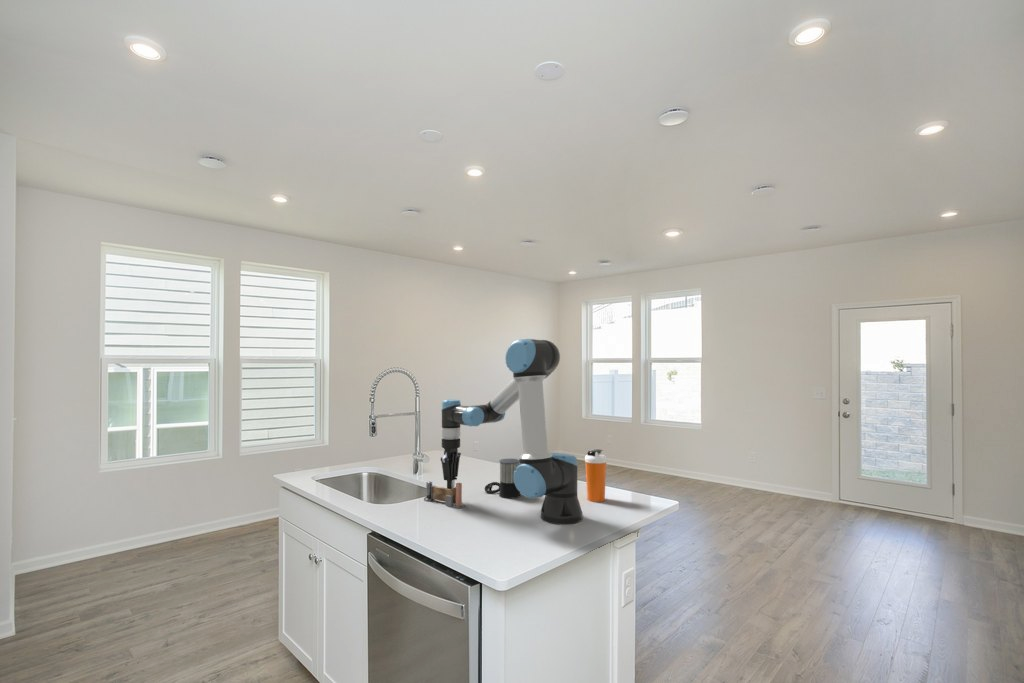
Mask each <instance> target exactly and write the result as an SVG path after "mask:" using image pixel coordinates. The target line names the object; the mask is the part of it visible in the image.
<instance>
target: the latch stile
mask: <svg viewBox="0 0 1024 683" xmlns="http://www.w3.org/2000/svg"><path fill="white" fill-rule="evenodd" d="M462 484H463V483H462V482H457V483H455V487H456V504H453V496H450V495H446V502H445V507H448V508H449V507H450V508H455V509H462V508H464V507H466V504H465V503H464V504H463V503H462V502H463V501H462V498H463V495H462V494H463V490H462V488H463V486H462Z"/></svg>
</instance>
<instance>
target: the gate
mask: <svg viewBox="0 0 1024 683" xmlns="http://www.w3.org/2000/svg"><path fill="white" fill-rule="evenodd" d="M446 495H450V496H453V505H455V504H456V486H455V488H453V489H449V488H447V487H443V486H438V485H432V486H431V499H435V500H434V501H440V502H445V503H446Z"/></svg>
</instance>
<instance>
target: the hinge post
mask: <svg viewBox="0 0 1024 683" xmlns="http://www.w3.org/2000/svg"><path fill="white" fill-rule="evenodd" d="M425 483H426V486H425V487H426V491H425V493H426V494H425V495H426V497H423V501H425V502H431V501H432V502H433V501H436V500H435V499H431V486H433V481H426V482H425Z"/></svg>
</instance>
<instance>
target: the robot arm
mask: <svg viewBox="0 0 1024 683" xmlns="http://www.w3.org/2000/svg"><path fill="white" fill-rule="evenodd" d="M560 359H561V354H560V351H559V348H558V347H557V345H556V344H555V343H554V342H552V341H549V340H546V339H535V338H533V339H532V338H522V339H521V338H520V339H516V340H514V341H513V342H512V343H511V344H510V346H509V347H508V348H507V350H506V353H505V364H506V367H507V368H508V370H509V371H510V372H512V374H513V375H512V379H511V380H510V381H509V382H508V383H506V385H505V386H504V387H503V388H502V389H501V390H500V391H499V392H498V393H496V395H495V396H494V397H493V398H492V399H491V400H489V402H488V403H485V404H478V405H462V404H461V400H460V399H444V400H442V403H441V404H442V405H441V437H442V438H441V447H442V448H443V449H444V451H443V457H440V461H441V469H442V475H443V476H442V477H443V481H446V488H449V489H453V488H455V487H456V483H455V481H457V480H458V474H459V468H460V467H459V465H460V457H461V454H462V453H461V452H458V450H459V449H458V448H461V438H460V437H461V426H462V425H463V426H468V427H478V426H480V425H483V424H490V423H491V424H492V423H498V422H501V421H503V420H504V419H505V416H506V412H507V411H508V410H509V409H510V408H511V407H512V406H514V404H516V403H517V402H518V401H519V412H520V427H521V428H520V429H521V438H522V439H521V442H522V453H521V454H520V456H519V457H518V459H519V463H520V465H519V466H518V467H517V468H516V470H515V471H514V483H515V486H516V488H517V489H518V491H520V494H521V496H523V497H524V498H525V497H526V498H528V499H536V498H537V499H539V498H541V497H544V499H543V503H542V506H541V509H540V518H541V520H543V522H546V523H550V524H558V525H569V524H571V525H572V524H575V523H580V522H581V521H582V520H583V511H582V510H583V509H582V507H581V505H580V504H581V503H580V501H579V497H578V468H579V465H578V459H577V457H576V455H574V454H569V453H561V452H550V451H549V449H548V448H549V447H548V437H547V436H548V435H547V424H546V423H547V422H546V410H545V398H544V396H545V395H544V384H543V381H544V380H545V379H547V378H548V377H549V376H550V375H551V374H552V373H554V371H555V370H556V369H557V368H558V366H559V364H560V361H561V360H560Z"/></svg>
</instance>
